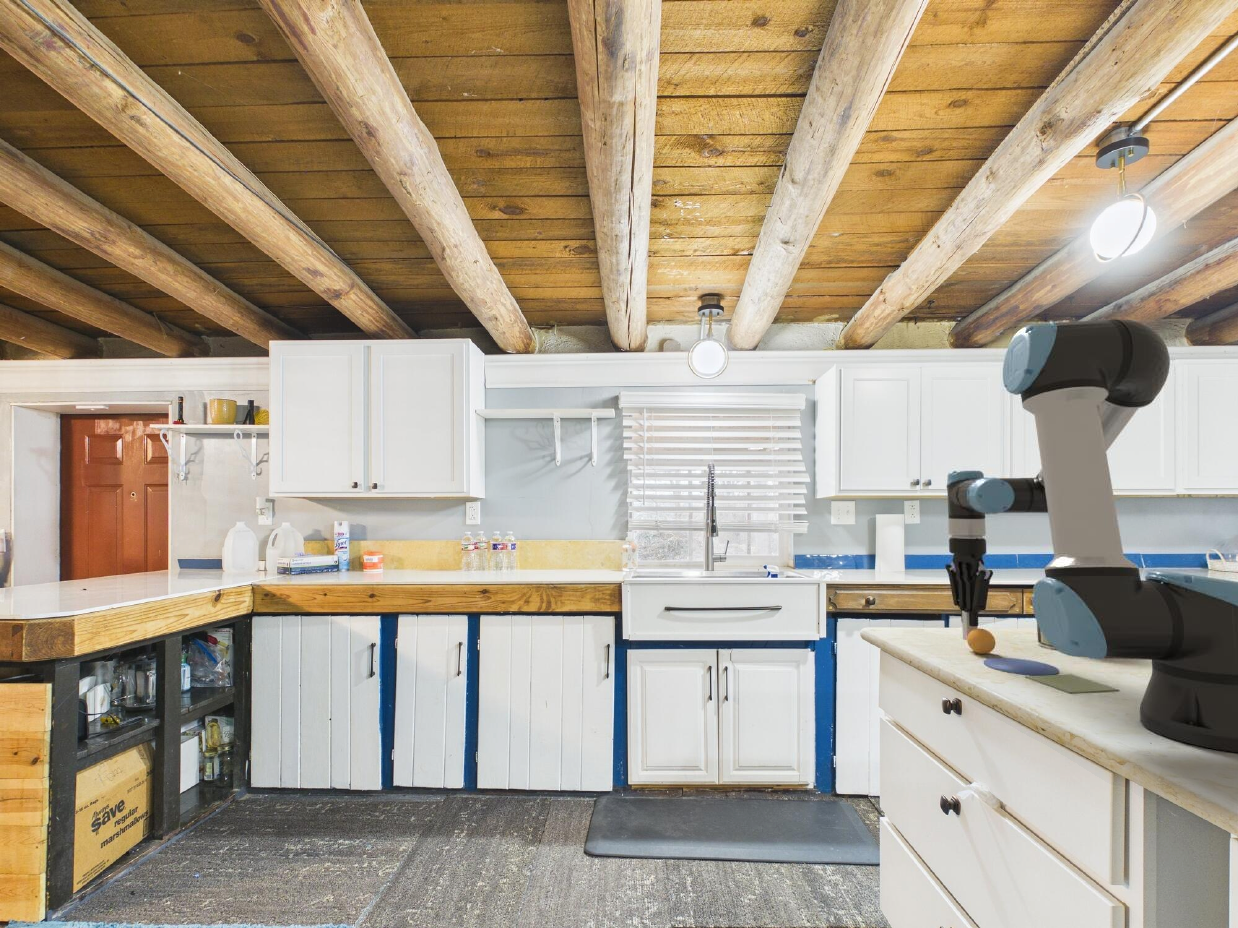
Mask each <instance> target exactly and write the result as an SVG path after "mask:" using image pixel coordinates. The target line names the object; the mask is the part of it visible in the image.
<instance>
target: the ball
mask: <svg viewBox="0 0 1238 928" xmlns="http://www.w3.org/2000/svg"><path fill="white" fill-rule="evenodd" d="M966 643H967V645H968V647H969V648H970V650H972V651H973V652H975V653H977V654H980V655H987V654H989V653H991V652H993V651H994V649H995V647H996V638H995V636H994V635H993V633H991V632H990V631H989V630H987V629H985V628H978V629H974V630H972V631H971V632H970V633H969V634H968V637H967V640H966Z"/></svg>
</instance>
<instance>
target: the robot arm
mask: <svg viewBox="0 0 1238 928" xmlns="http://www.w3.org/2000/svg"><path fill="white" fill-rule="evenodd" d="M1170 360H1171V359H1170V354H1169V349H1168V347H1167V344H1166V342H1165V341H1164V340H1163V338H1162V337H1161V335H1160V334H1159V333H1158V332H1156V331H1155V330H1154V329H1153V328H1151V327H1150V326H1148V325H1146V324H1144V323H1142V322H1141V321H1136V320H1132V319H1125V318H1117V319H1116V318H1115V319H1107V320H1086V321H1083V320H1081V321H1079V320H1078V321H1065V322H1063V321H1061V322H1057V321H1056V322H1055V321H1049V322H1045V323H1034V324H1028V325H1026V326H1024V327H1022V328H1021V329H1019V330H1018V331H1017V332H1016V333H1015V334H1014V336H1013V337H1012V339H1011V341H1010V343H1009V345H1008V347H1007V350H1006V352H1005V355H1004V359H1003V366H1002V381H1003V386H1004V387H1005V389H1006V391H1007V392H1008V393H1009V394H1013V395H1014V396H1017V395H1020V398H1021V404H1022V408H1023V410H1025V411H1026V412H1029V413H1030V414H1032V415H1033V416H1034V421H1035V429H1036V434H1037V435H1036V436H1037V442H1038V449H1039V456H1040V457H1039V458H1040V464H1041V469H1040V470H1039V472H1038V473H1037V475H1036V476H1035V477H1006V478H1005V477H999V478H998V477H985V475H984V472H982V471H981V470H952V471H949V472H948V474H947V479H946V481H947V482H946V489H947V490H946V493H947V511H948V512H947V514H948V517H947V518H948V521H947V524H948V526H947V527H948V535H949V536H951V537H949V538H948V547H949V548H948V550H949V553H950V554H952V555H953V557H952V562H950V563H949V564H948V563H945V570H946V572H947V574H948V580H949V584H950V590H951V596H952V601H953V604H954V606H957V607H958V608H959V610H960V613H961V615H960V616H961V624H962V639H963V640H965V641H967V637H968V634H969V633H970V632H971V631H972V630H974V629H979V628H978V627H979V612H981V611H986V608H987V603H988V595H989V590H990V589H989V588H990V582H991V579H992V577H993V575H994V572H993V570H992V569H988V568H986V566H985V561H984V559H983V558H984V557H983V556H984V555H986V554H987V539H986V538H985V536H986V532H987V531H986V515H990V514H991V515H996V514H1024V513H1025V514H1026V513H1030V514H1036V513H1037V514H1048V520H1049V527H1050V534H1051V541H1052V548H1053V559H1052V560H1050V562H1049V563H1048V564H1047V565H1046V566H1045V567H1044V574H1045V577H1043V578H1042V579H1039V580H1038V581H1037V582H1035V583H1034V586H1033V588H1032V592H1033V594H1031V605H1032V610H1033V611H1032V612H1033V614H1034V618H1035V620H1036V624H1037V623H1038V626H1039V628H1040V630H1041V632H1042V633H1043V635H1044V637H1045V638H1046V639H1047V640H1048V642H1049V643H1050V644H1051V645H1052V646H1053V647H1054V648H1055V649H1057V650H1056V651H1058V652H1060V653H1061V654H1063V655H1066V656H1069V657H1077V658H1089V659H1091V660H1093V659H1094V660H1102V659H1109V660H1110V659H1112V660H1114V659H1116V660H1145V661H1146V660H1147V661H1148V660H1149V661H1150V660H1151V676H1150V679H1149V681H1148V684H1147V687H1146V689H1145V692H1144V695H1143V698H1142V700H1141V703H1140V706H1139V721H1140V724H1141V725H1142V726H1143V727H1145V728H1146V729H1148V730H1150V731H1151V732H1153V733H1156V734H1158V735H1161V736H1164V737H1165V738H1169V739H1173V740H1176V741H1178V742H1183V743H1186V744H1190V745H1193V746H1198V747H1199V746H1200V747H1203V748H1208V749H1214V750H1219V751H1226V752H1233V753H1238V581H1236V580H1235V581H1234V580H1230V579H1222V578H1215V577H1208V576H1207V577H1206V576H1201V575H1194V574H1193V575H1192V574H1187V573H1178V572H1171V571H1163V570H1155V569H1150V570H1147V572H1146V575H1145V576H1144V579H1143V580H1141V579H1142V578H1141V573H1140V568H1139V566H1138V565H1137V564H1136V563H1135V562H1133V561H1131V560H1130V559H1128V558H1127V557H1126V556H1125V555H1124V551H1123V544H1122V538H1121V533H1120V527H1119V521H1118V520H1119V519H1118V516H1117V515H1118V514H1117V510H1116V509H1117V508H1116V502H1115V497H1114V491H1113V484H1112V478H1111V473H1110V466H1109V461H1108V454H1107V451H1108V450H1109V449H1110V448H1111V446H1112V445H1113V443H1115V441H1116V439H1117V438H1118V437H1119V435H1120V434H1121V433H1122V431H1123V430H1124V429H1125V428H1126V426H1127V424H1128V423H1129V422H1130V421H1131V419H1132V418H1133V417H1134V415H1135V414H1136V413H1137V411H1138V410H1139V409H1142V408H1145V407H1147V406H1150V405H1151V404H1152V402H1153V401H1154V400H1155V399H1156V397H1157V396H1158V395H1159V393H1160V392H1161V391H1162V389H1163V387H1164V386H1165V383H1166V381H1167V379H1168V375H1169V374H1170V366H1171V365H1170V364H1171V361H1170ZM983 537H984V538H983Z"/></svg>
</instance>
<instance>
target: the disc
mask: <svg viewBox="0 0 1238 928" xmlns="http://www.w3.org/2000/svg"><path fill="white" fill-rule="evenodd" d="M983 664H984V666H986V667H988V668H990V667H991V669H993V668H994V670H997V671H999V672H1004V671H1005V672H1006V673H1010V674H1016V675H1024V676H1044V675H1059V674H1060V670H1059V668H1057V667H1056V666H1054V665H1051V664H1048V663H1045V662H1039V661H1037V660H1032V659H1031V660H1030V659H1023V658H1016V657H1014V658H1013V657H991V658H986V659H984V660H983Z"/></svg>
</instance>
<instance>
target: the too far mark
mask: <svg viewBox="0 0 1238 928" xmlns="http://www.w3.org/2000/svg"><path fill="white" fill-rule="evenodd" d="M1024 676H1025V678H1026V679H1028V680H1031V681H1034V682H1037V683H1040V684H1043V685H1045V686H1048V687H1051V688H1054V689H1056V690H1060V691H1062V692H1065V693H1067V694H1082V693H1083V694H1087V693H1103V692H1120V691H1121V690H1120V688H1115V687H1112V686H1110V685H1107V684H1102V683H1099V682H1096V681H1095V680H1090V679H1087V678H1085V677H1081V676H1079V675H1075V674H1072V673H1069V674H1055V675H1044V676H1034V675H1024Z"/></svg>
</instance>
